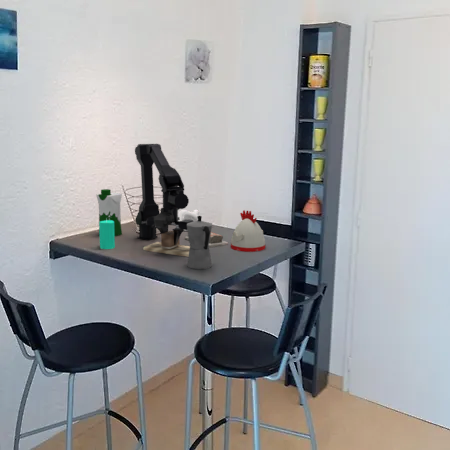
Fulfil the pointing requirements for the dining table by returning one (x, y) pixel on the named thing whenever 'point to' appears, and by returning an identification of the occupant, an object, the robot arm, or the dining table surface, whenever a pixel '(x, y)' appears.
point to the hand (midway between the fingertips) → (170, 244)
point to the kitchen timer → (248, 235)
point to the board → (177, 250)
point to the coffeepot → (199, 244)
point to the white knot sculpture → (188, 215)
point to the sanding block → (168, 240)
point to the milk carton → (110, 208)
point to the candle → (107, 234)
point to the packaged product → (214, 240)
